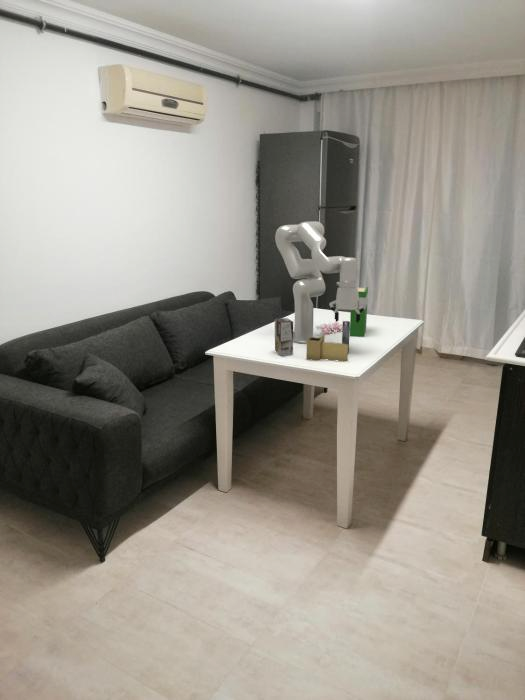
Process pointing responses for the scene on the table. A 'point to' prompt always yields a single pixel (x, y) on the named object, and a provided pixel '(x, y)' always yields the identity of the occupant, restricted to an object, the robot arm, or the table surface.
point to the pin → (346, 333)
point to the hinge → (326, 349)
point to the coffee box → (284, 336)
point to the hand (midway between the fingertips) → (347, 321)
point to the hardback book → (360, 327)
